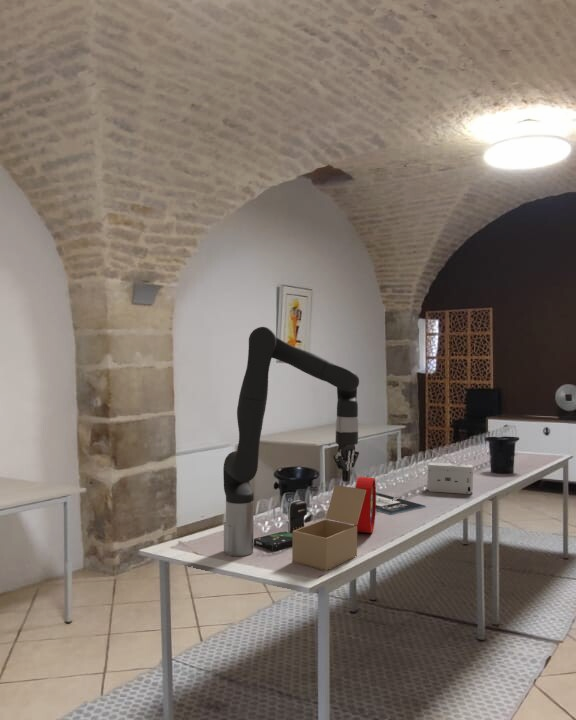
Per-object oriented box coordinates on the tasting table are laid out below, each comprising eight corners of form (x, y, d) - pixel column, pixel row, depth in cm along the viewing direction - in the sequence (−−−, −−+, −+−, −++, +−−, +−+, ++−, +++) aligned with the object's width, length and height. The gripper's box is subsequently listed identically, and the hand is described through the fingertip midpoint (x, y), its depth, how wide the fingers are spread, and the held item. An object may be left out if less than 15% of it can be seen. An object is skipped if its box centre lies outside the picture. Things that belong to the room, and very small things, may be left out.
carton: (326, 570, 204) (326, 538, 204) (292, 562, 212) (292, 530, 212) (356, 556, 219) (357, 525, 219) (323, 548, 227) (324, 519, 226)
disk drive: (273, 553, 223) (304, 544, 233) (273, 545, 222) (304, 536, 233) (253, 546, 230) (284, 537, 240) (253, 538, 230) (284, 530, 240)
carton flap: (365, 489, 223) (366, 490, 224) (335, 484, 230) (335, 485, 231) (356, 524, 219) (357, 525, 219) (325, 518, 226) (326, 518, 227)
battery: (294, 535, 242) (295, 504, 241) (287, 533, 244) (287, 502, 244) (308, 531, 247) (308, 500, 246) (300, 529, 249) (301, 499, 249)
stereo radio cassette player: (472, 491, 316) (473, 449, 316) (472, 495, 308) (473, 452, 308) (427, 488, 322) (428, 447, 321) (426, 492, 314) (427, 450, 313)
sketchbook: (391, 516, 272) (391, 511, 272) (340, 502, 296) (340, 497, 295) (425, 508, 285) (425, 503, 285) (375, 495, 309) (375, 490, 309)
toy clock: (369, 539, 237) (370, 483, 237) (353, 538, 239) (354, 482, 238) (375, 524, 257) (376, 473, 256) (360, 523, 258) (361, 472, 257)
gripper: (347, 427, 231) (347, 476, 232) (326, 430, 221) (325, 482, 221) (366, 429, 227) (365, 479, 227) (345, 432, 216) (344, 485, 217)
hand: (346, 481), depth 224 cm, fingers closed
